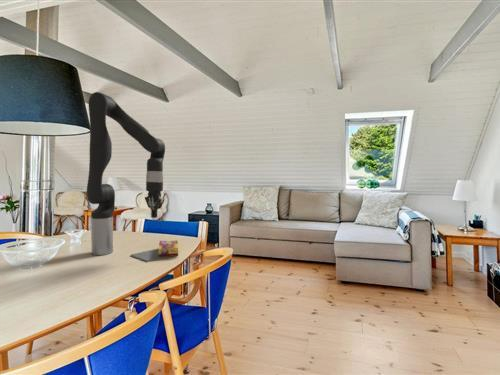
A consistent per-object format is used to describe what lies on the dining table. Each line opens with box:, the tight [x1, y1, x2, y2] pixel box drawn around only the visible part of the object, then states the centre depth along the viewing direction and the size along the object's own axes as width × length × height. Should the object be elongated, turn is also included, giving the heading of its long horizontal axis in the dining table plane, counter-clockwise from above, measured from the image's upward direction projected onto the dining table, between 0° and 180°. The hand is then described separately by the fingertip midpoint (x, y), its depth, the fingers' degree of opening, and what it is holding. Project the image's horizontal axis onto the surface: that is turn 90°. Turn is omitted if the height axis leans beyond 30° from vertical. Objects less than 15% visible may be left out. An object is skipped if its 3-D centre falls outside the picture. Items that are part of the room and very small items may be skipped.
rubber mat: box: [130, 247, 170, 263], centre depth 136 cm, size 14×16×1 cm
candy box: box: [158, 239, 179, 258], centre depth 138 cm, size 9×4×15 cm
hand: (154, 217), depth 135 cm, fingers closed
